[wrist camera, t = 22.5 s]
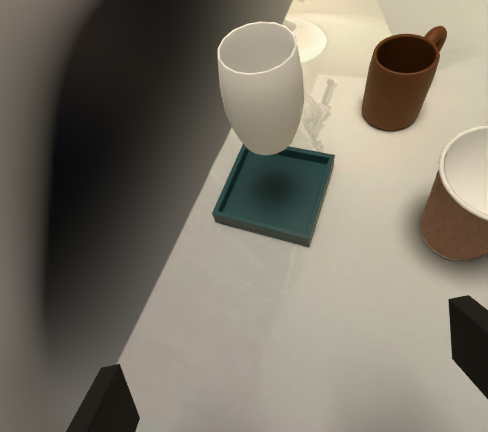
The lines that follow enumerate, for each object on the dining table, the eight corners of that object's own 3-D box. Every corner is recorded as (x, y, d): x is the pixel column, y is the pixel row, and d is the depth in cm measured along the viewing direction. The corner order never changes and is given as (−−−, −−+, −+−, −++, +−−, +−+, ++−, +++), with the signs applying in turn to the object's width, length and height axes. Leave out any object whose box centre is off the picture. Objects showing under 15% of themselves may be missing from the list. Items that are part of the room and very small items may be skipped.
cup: (287, 224, 42) (275, 90, 24) (237, 201, 45) (192, 65, 27) (313, 179, 45) (320, 27, 27) (264, 160, 47) (240, 10, 29)
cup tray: (309, 247, 41) (309, 239, 39) (215, 222, 45) (211, 213, 43) (333, 165, 46) (334, 154, 44) (247, 148, 50) (245, 138, 48)
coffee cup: (486, 190, 42) (548, 118, 31) (520, 273, 37) (606, 220, 26) (396, 197, 43) (426, 130, 32) (416, 278, 38) (459, 230, 27)
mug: (403, 68, 53) (422, 6, 44) (449, 91, 49) (478, 29, 41) (349, 114, 50) (358, 57, 42) (394, 141, 47) (413, 85, 39)
